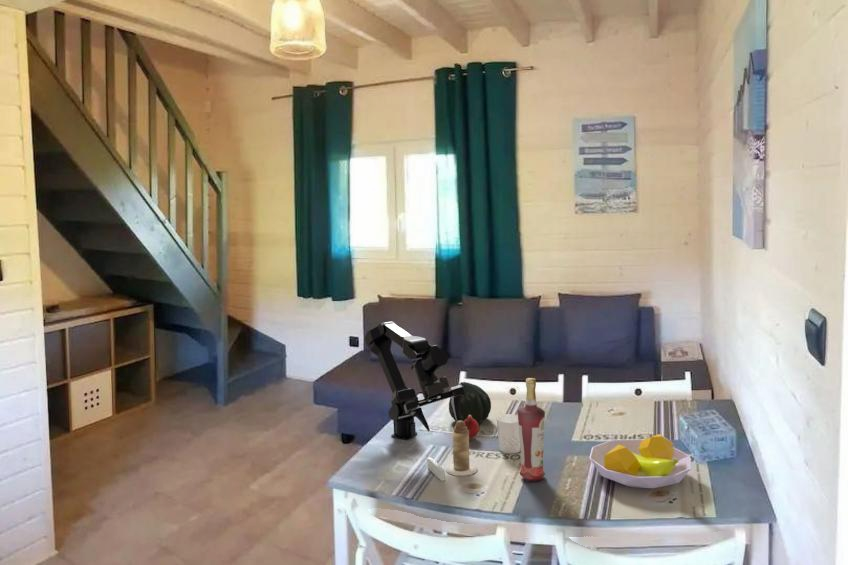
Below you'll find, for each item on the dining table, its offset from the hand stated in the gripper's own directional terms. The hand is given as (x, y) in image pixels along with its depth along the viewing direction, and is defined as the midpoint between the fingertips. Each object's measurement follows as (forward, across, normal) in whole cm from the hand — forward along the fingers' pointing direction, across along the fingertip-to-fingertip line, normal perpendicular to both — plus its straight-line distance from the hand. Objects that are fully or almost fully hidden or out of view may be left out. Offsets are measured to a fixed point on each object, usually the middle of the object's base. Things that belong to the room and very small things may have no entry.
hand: (443, 426), depth 195 cm
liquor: (+22, +17, -12) cm, 30 cm away
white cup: (+12, +18, +7) cm, 23 cm away
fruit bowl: (+32, +44, -17) cm, 57 cm away
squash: (-3, +15, +31) cm, 34 cm away
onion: (+4, +10, +16) cm, 20 cm away
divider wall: (+13, -7, -5) cm, 15 cm away
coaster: (+14, 0, -3) cm, 14 cm away
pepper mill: (+13, 0, -4) cm, 14 cm away
